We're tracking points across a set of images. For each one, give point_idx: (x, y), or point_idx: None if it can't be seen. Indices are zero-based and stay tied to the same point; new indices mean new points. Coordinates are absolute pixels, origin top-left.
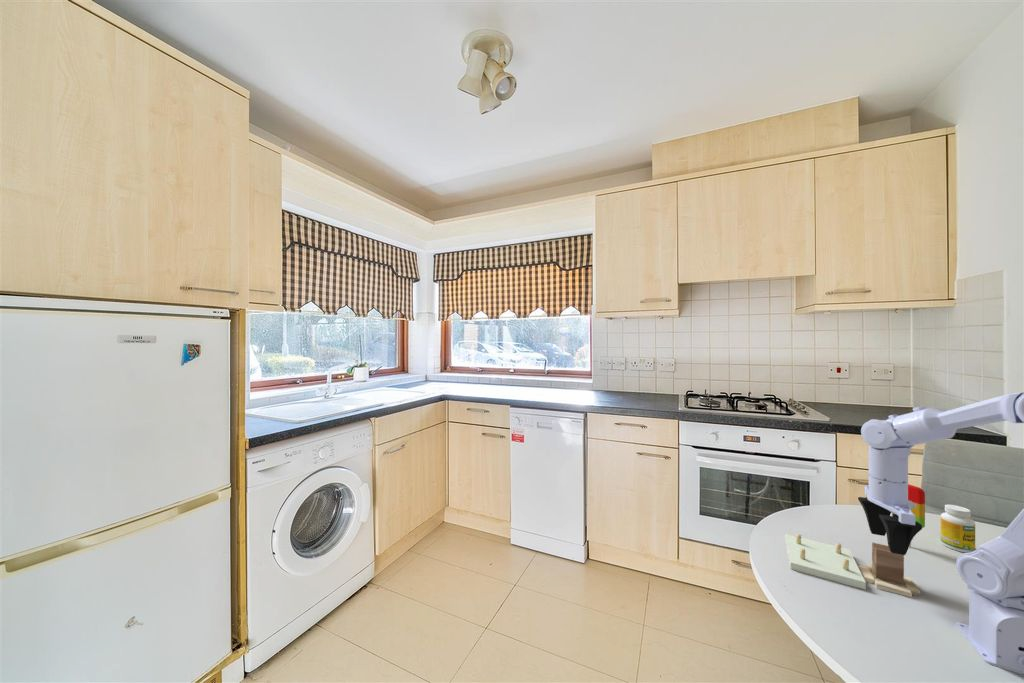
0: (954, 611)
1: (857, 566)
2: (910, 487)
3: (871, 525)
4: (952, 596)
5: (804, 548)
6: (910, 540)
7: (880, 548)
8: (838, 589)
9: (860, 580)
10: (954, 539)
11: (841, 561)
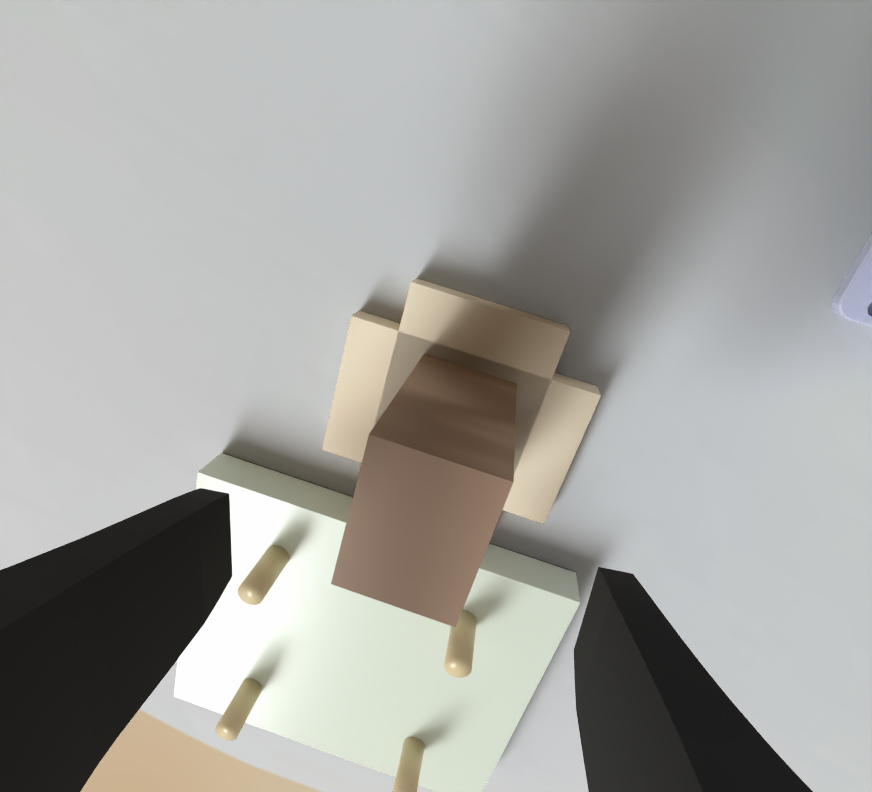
0: (704, 227)
1: None
2: None
3: (176, 653)
4: (524, 105)
5: (300, 687)
6: (776, 764)
7: (433, 590)
8: None
9: (567, 617)
10: None
11: None
